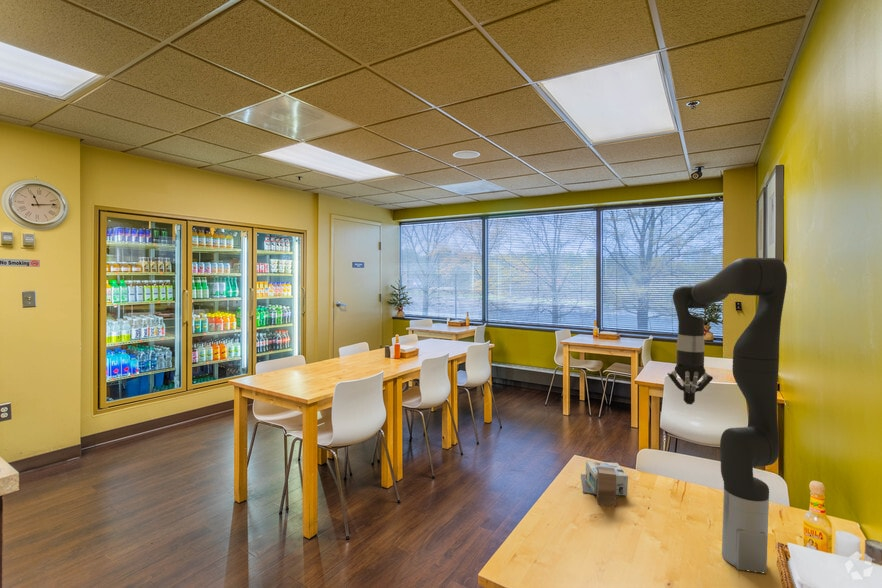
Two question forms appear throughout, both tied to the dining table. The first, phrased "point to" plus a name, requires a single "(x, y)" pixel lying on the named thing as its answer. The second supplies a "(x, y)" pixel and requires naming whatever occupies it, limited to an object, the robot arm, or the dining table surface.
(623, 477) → the light bulb box
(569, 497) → the dining table surface
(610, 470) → the walnut block
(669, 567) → the dining table surface
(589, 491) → the mat
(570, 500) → the dining table surface
